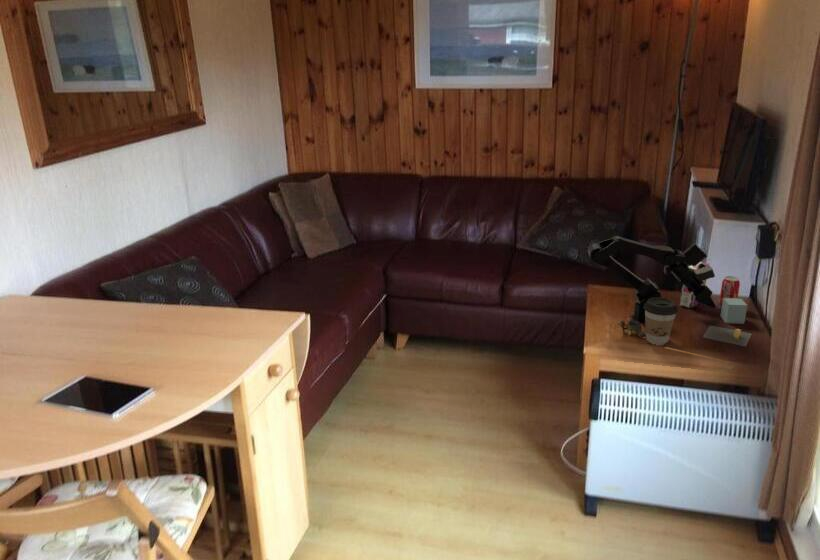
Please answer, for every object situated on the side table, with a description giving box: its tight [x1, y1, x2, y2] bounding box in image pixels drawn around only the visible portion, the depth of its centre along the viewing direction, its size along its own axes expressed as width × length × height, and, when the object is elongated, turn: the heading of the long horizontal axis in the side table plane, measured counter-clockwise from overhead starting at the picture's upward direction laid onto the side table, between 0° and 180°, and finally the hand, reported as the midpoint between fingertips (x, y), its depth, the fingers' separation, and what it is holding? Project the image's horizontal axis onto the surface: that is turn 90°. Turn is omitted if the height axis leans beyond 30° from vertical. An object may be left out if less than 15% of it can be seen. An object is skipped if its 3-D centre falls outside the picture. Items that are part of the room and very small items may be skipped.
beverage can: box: [718, 275, 741, 308], centre depth 254 cm, size 6×6×12 cm
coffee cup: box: [643, 296, 679, 346], centre depth 226 cm, size 11×11×15 cm
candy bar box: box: [679, 261, 710, 309], centre depth 257 cm, size 11×5×16 cm, turn 133°
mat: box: [702, 324, 752, 347], centre depth 230 cm, size 14×12×3 cm
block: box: [720, 298, 748, 325], centre depth 242 cm, size 6×6×8 cm
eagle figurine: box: [617, 317, 646, 339], centre depth 234 cm, size 8×7×9 cm
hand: (710, 302), depth 241 cm, fingers open, 9 cm apart
